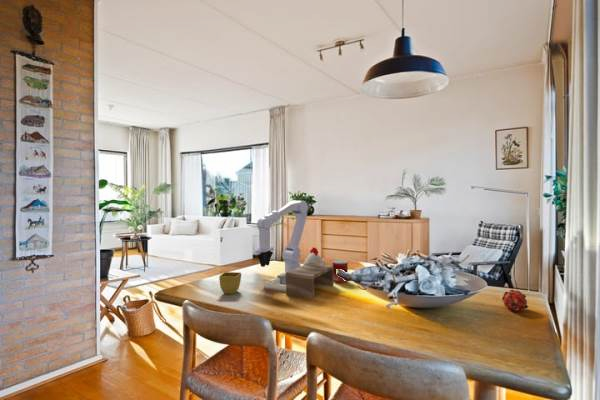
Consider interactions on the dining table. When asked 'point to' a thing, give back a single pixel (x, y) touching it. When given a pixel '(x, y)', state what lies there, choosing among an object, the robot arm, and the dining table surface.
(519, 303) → the dragon fruit
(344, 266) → the canned food
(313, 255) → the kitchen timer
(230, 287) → the flower pot
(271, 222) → the robot arm
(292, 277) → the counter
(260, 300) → the dining table surface
